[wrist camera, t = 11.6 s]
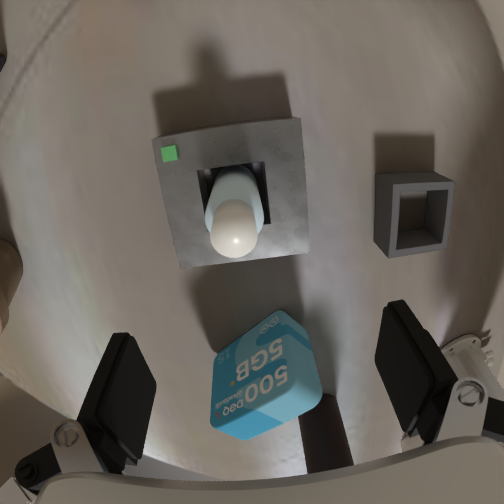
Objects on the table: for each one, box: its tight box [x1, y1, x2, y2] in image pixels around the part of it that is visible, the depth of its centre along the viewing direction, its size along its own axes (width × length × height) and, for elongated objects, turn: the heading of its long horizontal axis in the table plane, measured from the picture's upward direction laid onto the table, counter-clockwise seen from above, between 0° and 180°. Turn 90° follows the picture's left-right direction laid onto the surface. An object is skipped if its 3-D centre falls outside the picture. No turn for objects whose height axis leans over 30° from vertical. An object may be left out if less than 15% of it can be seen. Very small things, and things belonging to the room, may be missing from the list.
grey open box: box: [374, 172, 455, 258], centre depth 28 cm, size 8×8×4 cm
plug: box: [205, 165, 264, 258], centre depth 23 cm, size 4×4×12 cm
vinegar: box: [298, 394, 354, 474], centre depth 37 cm, size 7×7×20 cm
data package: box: [210, 310, 322, 440], centre depth 33 cm, size 12×4×12 cm, turn 134°
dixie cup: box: [401, 435, 423, 452], centre depth 53 cm, size 8×8×10 cm
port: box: [152, 117, 309, 269], centre depth 27 cm, size 12×12×5 cm
